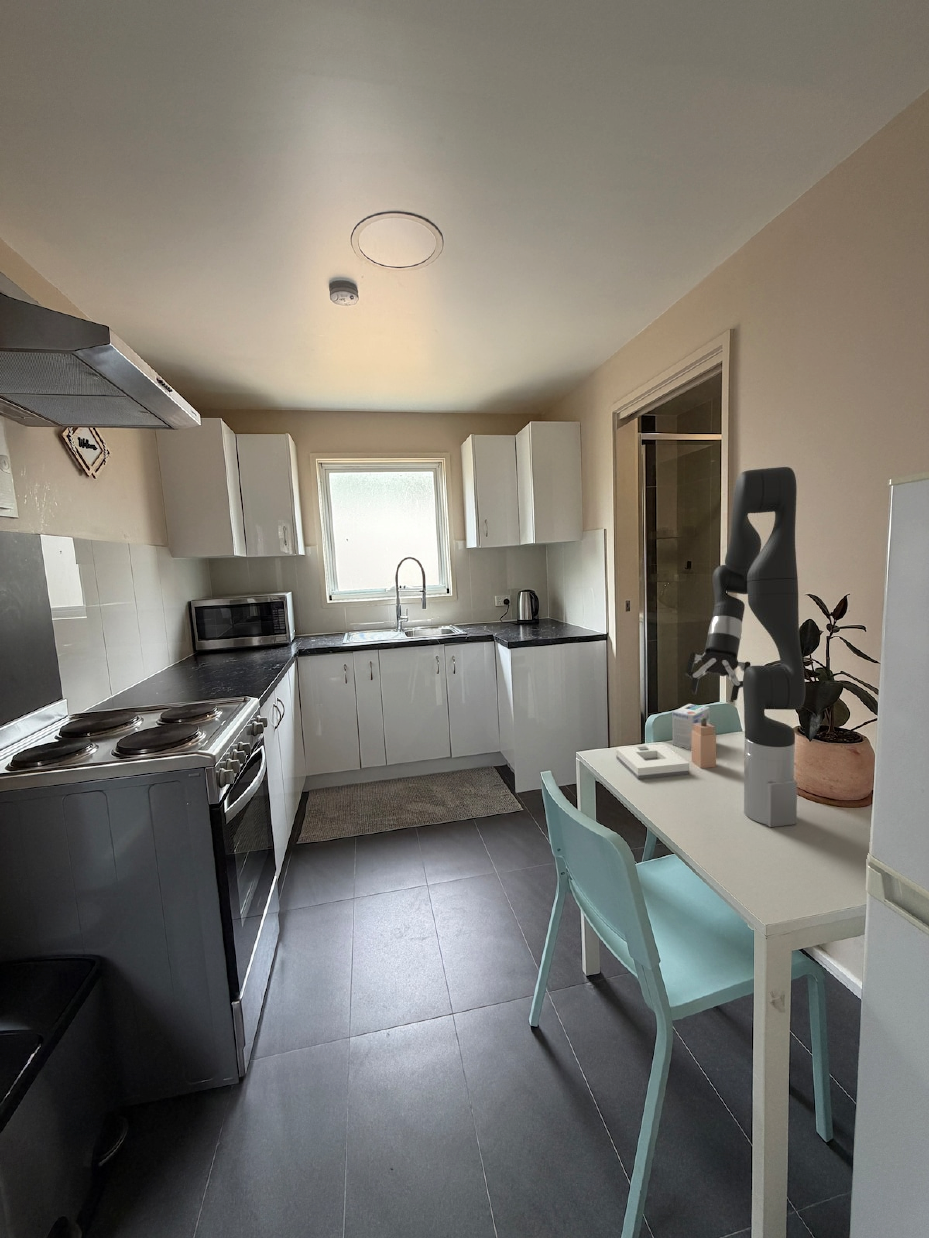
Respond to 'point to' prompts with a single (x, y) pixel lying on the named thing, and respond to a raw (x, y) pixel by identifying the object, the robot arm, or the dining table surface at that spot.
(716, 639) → the robot arm
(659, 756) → the socket plate
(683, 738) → the light bulb box
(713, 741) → the plug
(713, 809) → the dining table surface
